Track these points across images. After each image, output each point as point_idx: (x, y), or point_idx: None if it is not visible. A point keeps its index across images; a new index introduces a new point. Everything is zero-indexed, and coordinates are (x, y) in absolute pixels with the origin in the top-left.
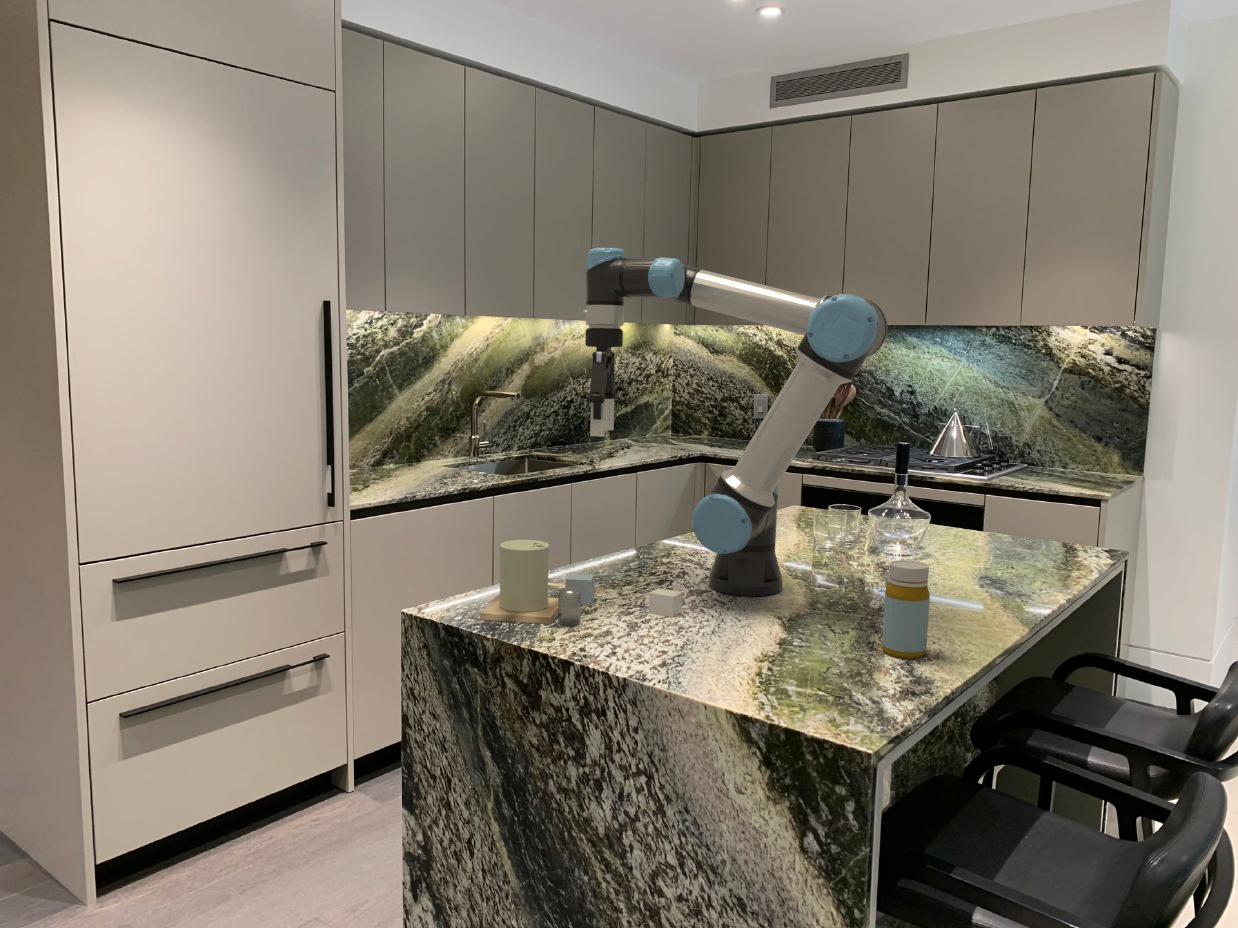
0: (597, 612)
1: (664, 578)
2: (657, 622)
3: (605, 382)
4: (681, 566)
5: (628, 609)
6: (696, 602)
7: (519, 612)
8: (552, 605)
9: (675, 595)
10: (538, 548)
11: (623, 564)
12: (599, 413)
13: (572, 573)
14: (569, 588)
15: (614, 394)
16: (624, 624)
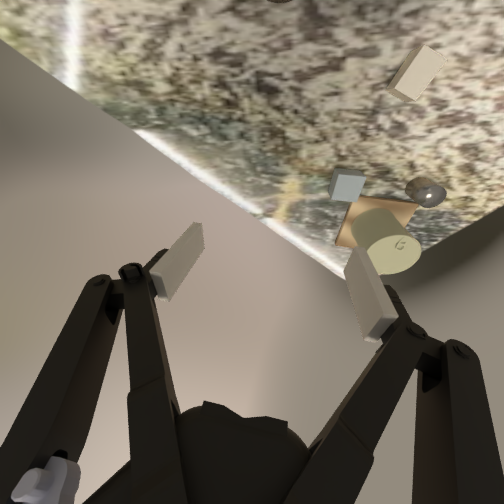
0: (387, 162)
1: (249, 85)
2: (449, 87)
3: (392, 397)
4: (185, 60)
5: (383, 128)
6: (368, 25)
7: None
8: (377, 205)
9: (442, 56)
10: (413, 244)
11: (197, 142)
12: (399, 301)
13: (333, 196)
14: (424, 198)
15: (124, 279)
16: (442, 130)
